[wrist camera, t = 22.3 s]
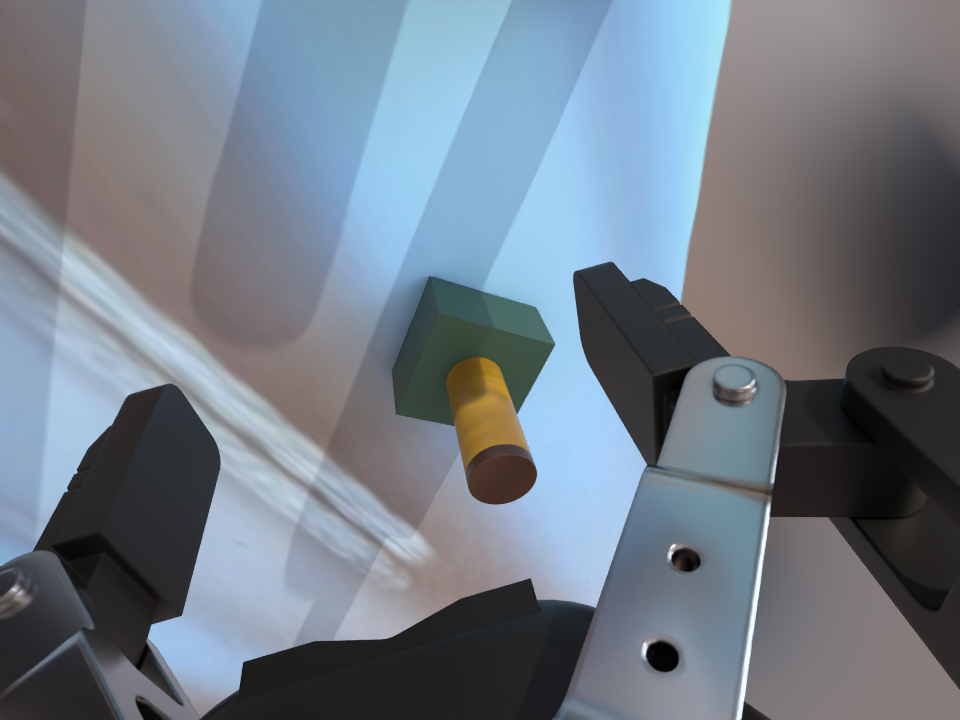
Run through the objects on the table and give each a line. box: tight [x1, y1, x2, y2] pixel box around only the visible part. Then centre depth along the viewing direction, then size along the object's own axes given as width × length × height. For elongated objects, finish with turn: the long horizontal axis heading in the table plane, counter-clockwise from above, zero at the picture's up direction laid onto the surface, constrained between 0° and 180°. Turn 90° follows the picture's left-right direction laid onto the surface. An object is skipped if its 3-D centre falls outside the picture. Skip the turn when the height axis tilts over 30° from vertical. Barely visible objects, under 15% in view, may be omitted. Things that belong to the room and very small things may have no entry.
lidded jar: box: [446, 357, 537, 504], centre depth 42 cm, size 5×5×11 cm
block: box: [392, 276, 555, 426], centre depth 49 cm, size 10×10×6 cm
